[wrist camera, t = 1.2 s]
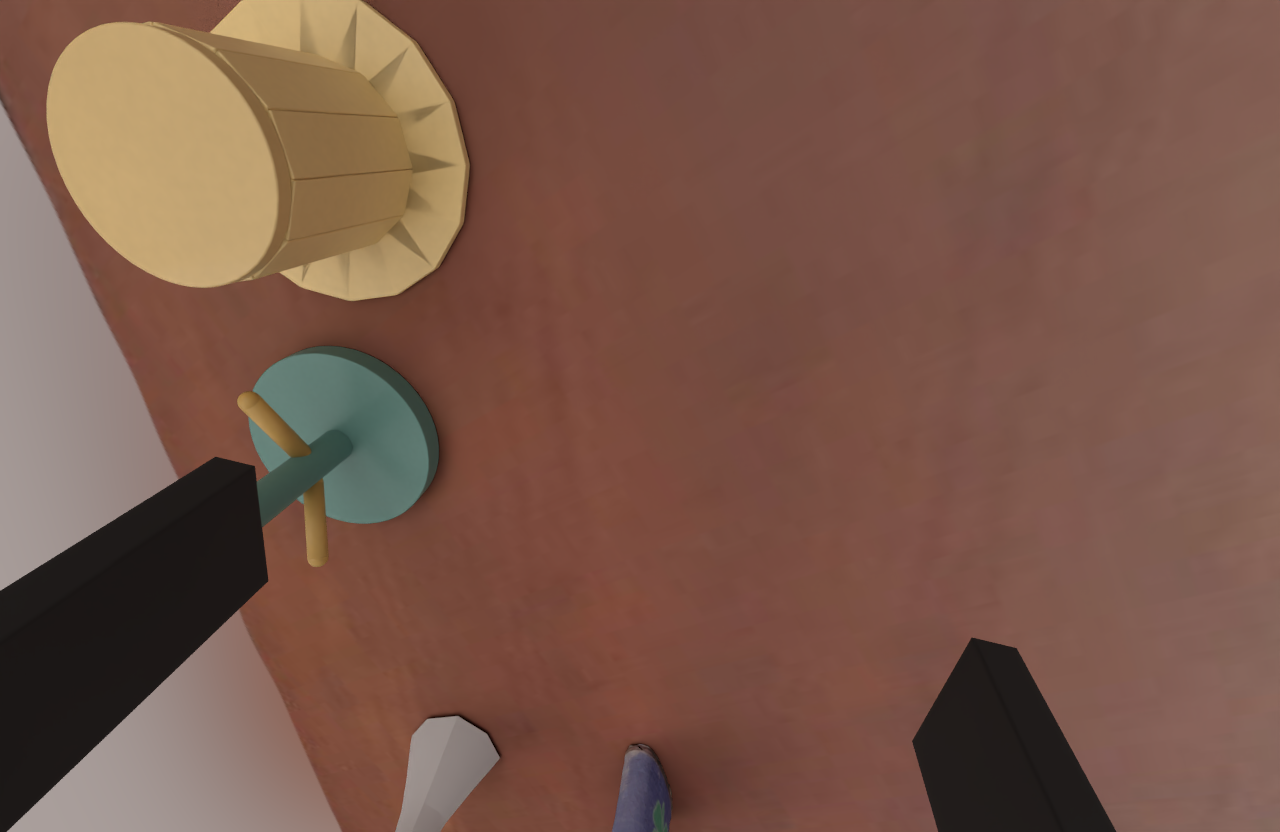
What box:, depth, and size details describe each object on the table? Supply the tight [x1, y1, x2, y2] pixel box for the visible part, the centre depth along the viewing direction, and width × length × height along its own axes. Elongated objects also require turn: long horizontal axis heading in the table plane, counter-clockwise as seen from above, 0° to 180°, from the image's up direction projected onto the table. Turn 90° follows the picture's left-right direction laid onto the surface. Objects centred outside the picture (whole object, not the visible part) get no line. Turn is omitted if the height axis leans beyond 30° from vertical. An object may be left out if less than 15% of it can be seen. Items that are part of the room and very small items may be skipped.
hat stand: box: [237, 346, 439, 567], centre depth 31 cm, size 12×12×20 cm
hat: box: [47, 0, 470, 301], centre depth 28 cm, size 15×15×11 cm
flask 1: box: [395, 716, 500, 832], centre depth 47 cm, size 7×7×10 cm
